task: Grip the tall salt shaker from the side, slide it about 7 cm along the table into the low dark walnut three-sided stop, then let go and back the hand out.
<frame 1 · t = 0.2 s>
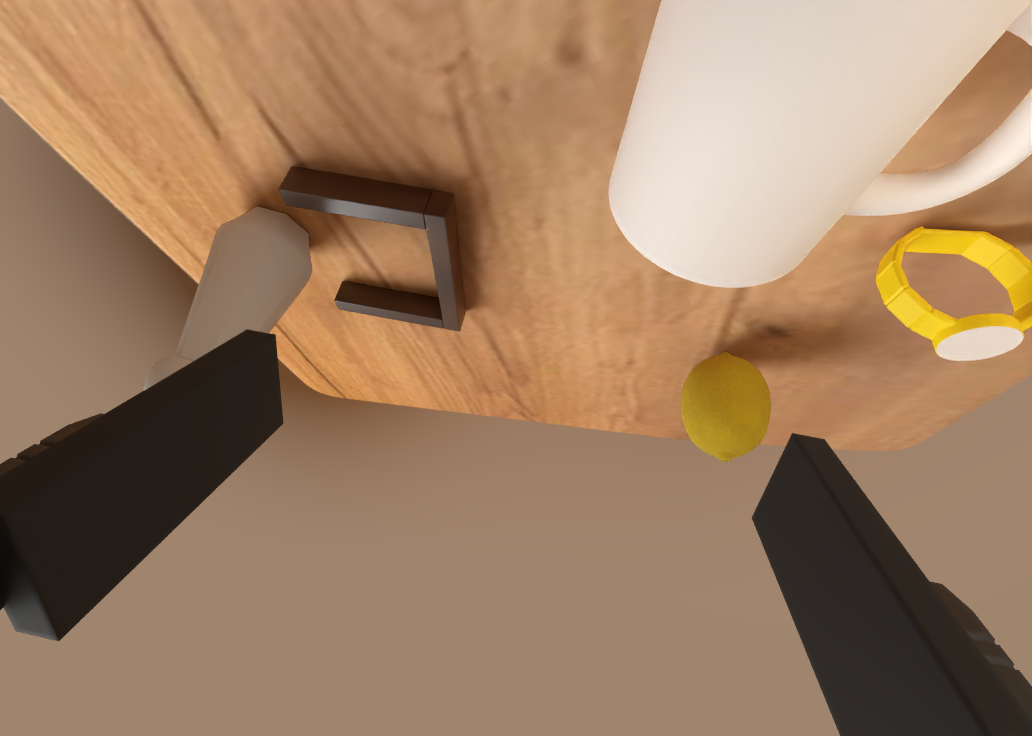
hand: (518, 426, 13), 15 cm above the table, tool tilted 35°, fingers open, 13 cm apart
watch: (943, 234, 23), on the table
salt shaker: (280, 228, 33), on the table
lemon: (724, 350, 35), on the table
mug: (827, 20, 17), on the table
walnut stop: (397, 250, 32), on the table
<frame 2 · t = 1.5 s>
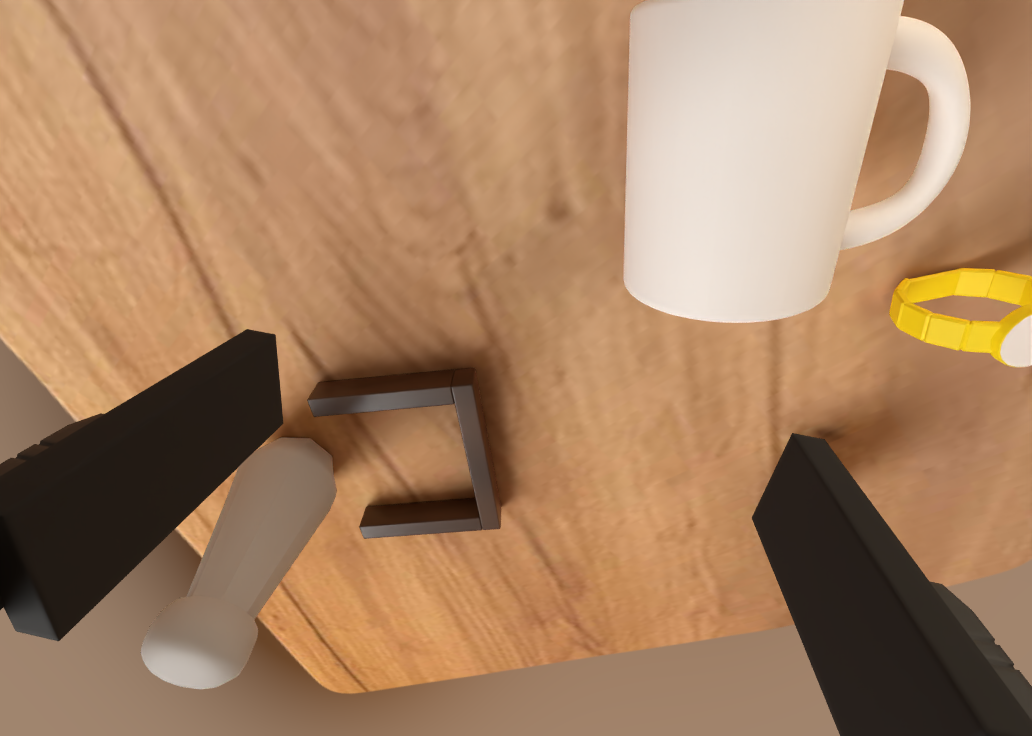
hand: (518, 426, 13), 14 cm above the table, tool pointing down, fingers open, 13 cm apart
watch: (927, 283, 25), on the table
salt shaker: (302, 458, 32), on the table
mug: (747, 137, 22), on the table
walnut stop: (423, 449, 31), on the table
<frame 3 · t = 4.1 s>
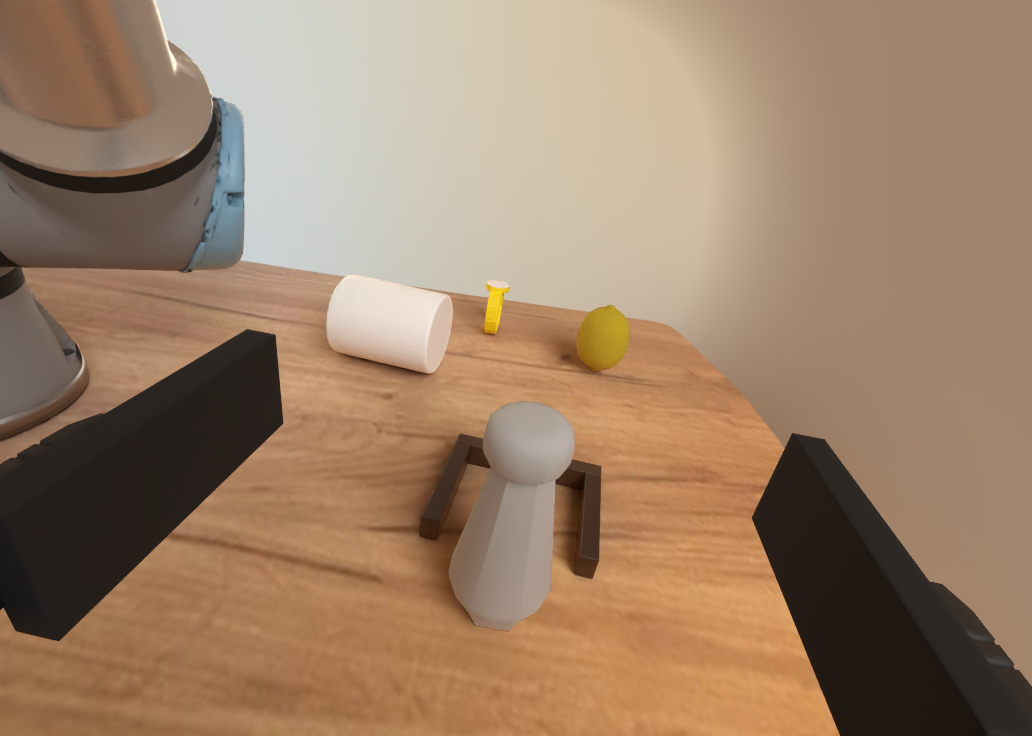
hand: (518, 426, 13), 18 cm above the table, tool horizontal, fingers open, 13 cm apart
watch: (491, 331, 61), on the table
salt shaker: (494, 600, 29), on the table
lemon: (593, 372, 56), on the table
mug: (399, 352, 53), on the table
walnut stop: (517, 503, 36), on the table
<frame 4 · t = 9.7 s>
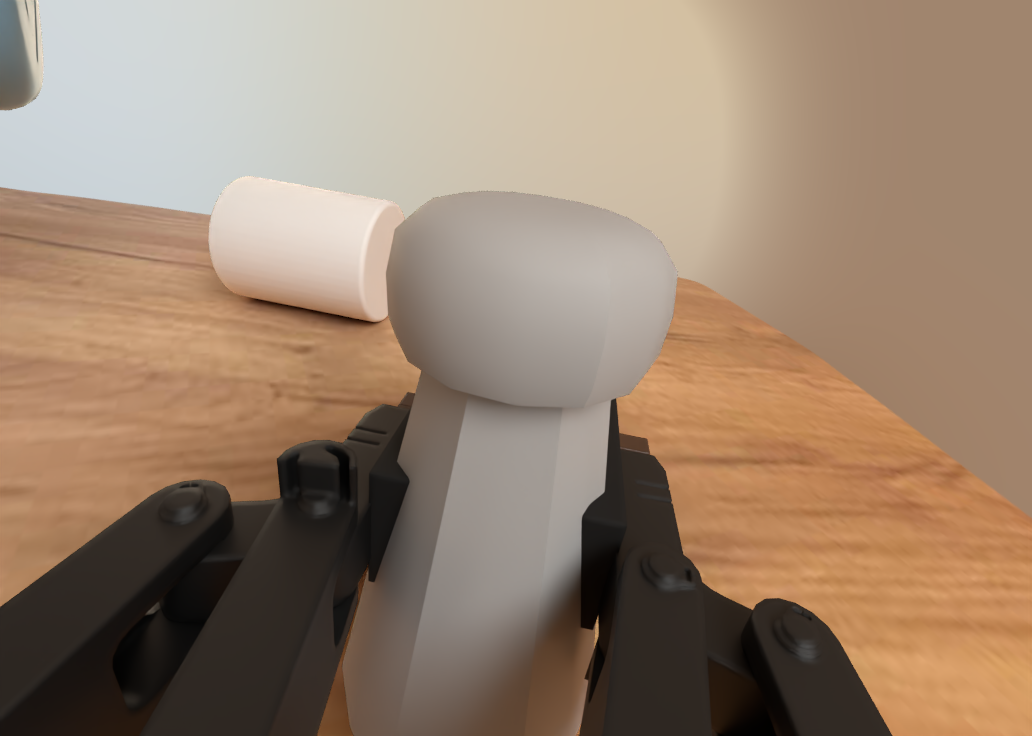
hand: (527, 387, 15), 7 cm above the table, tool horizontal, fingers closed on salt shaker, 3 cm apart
salt shaker: (461, 718, 13), on the table, touching gripper
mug: (333, 299, 37), on the table
walnut stop: (507, 505, 20), on the table
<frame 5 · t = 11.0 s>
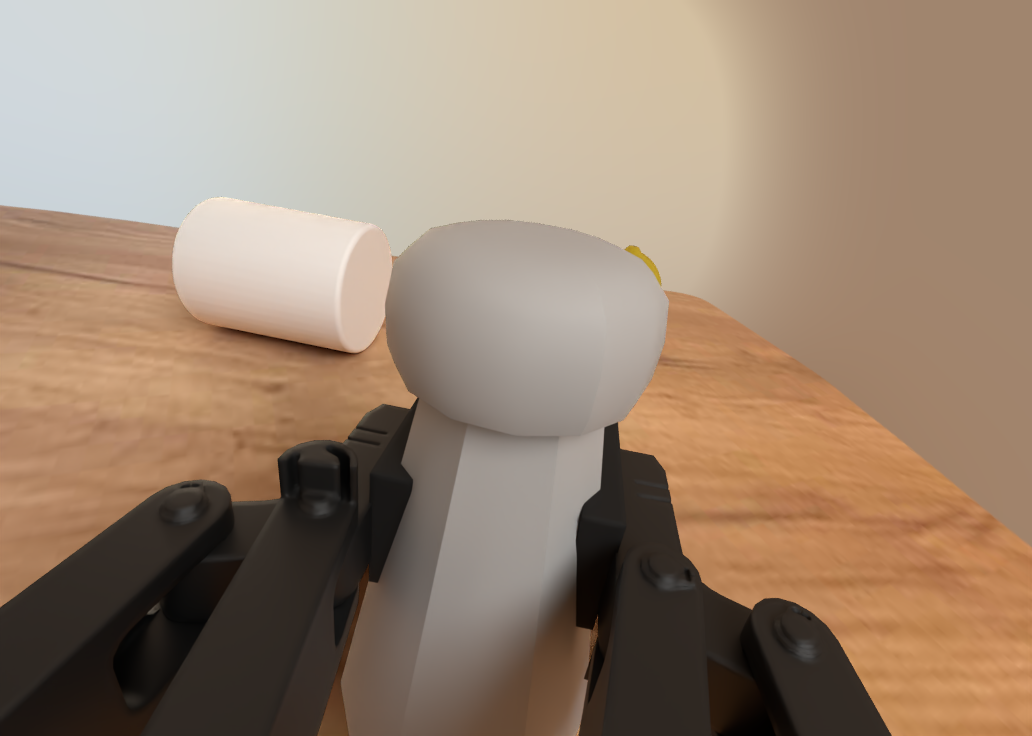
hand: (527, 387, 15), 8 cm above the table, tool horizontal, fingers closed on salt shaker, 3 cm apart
salt shaker: (458, 728, 13), on the table, touching gripper
lemon: (607, 351, 38), on the table
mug: (313, 326, 35), on the table
when the fingers open (8 cm above the table, at t = 12.3 s): salt shaker stays where it is, on the table.
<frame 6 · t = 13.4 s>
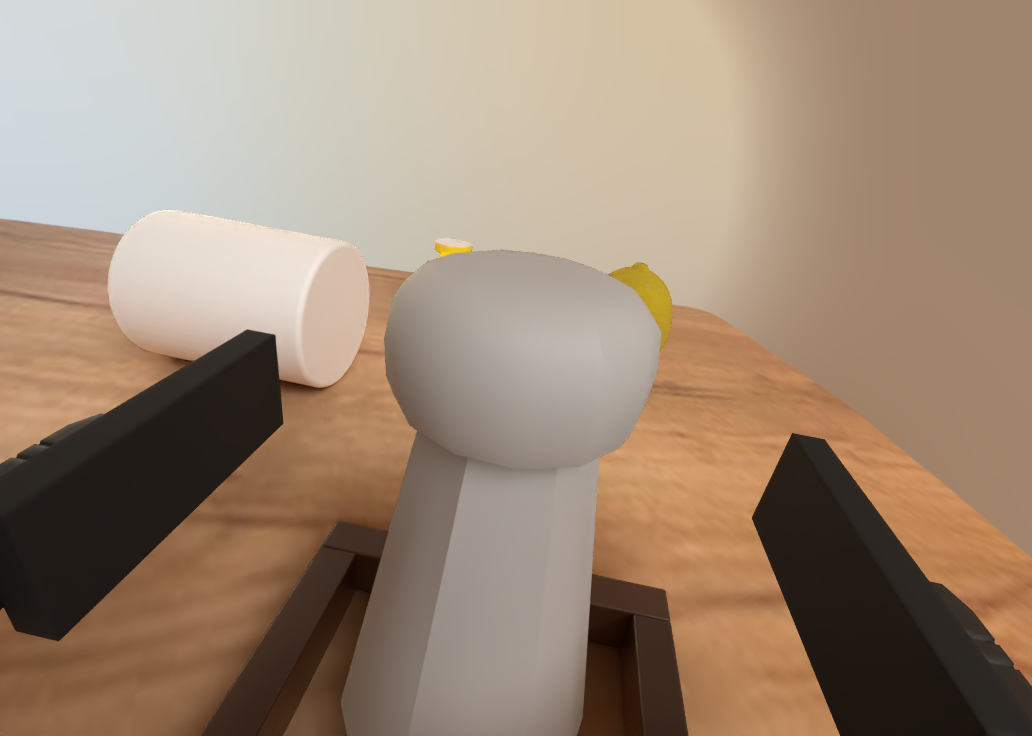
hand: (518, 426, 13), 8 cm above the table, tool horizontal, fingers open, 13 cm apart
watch: (447, 319, 39), on the table
lemon: (611, 379, 34), on the table
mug: (281, 352, 31), on the table
walnut stop: (465, 713, 14), on the table
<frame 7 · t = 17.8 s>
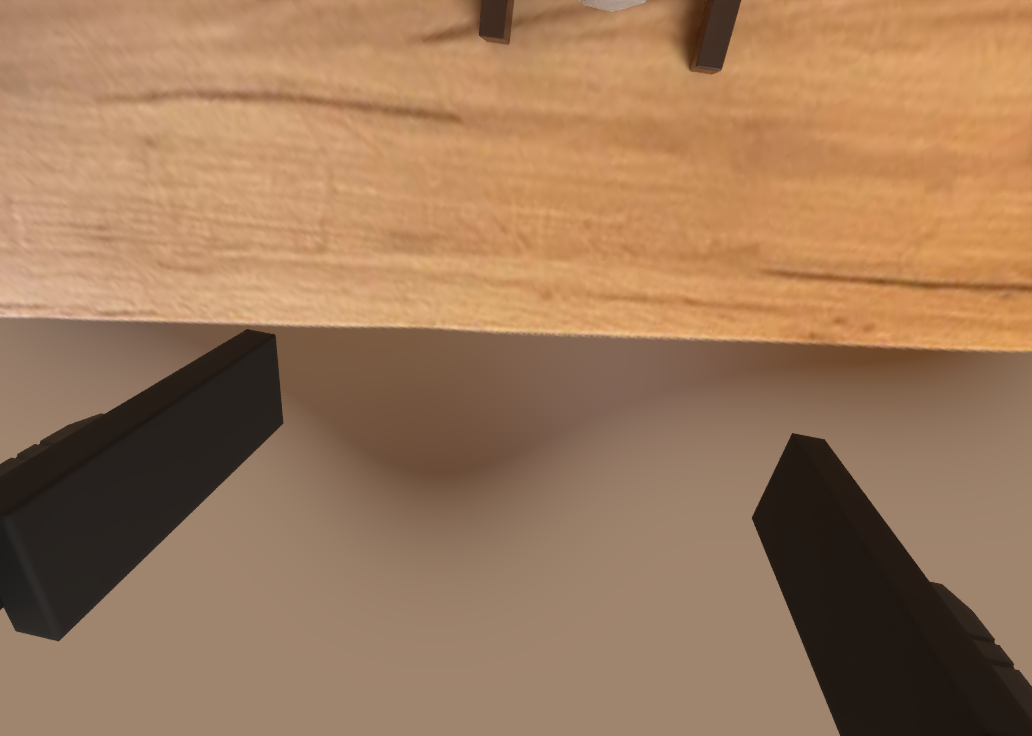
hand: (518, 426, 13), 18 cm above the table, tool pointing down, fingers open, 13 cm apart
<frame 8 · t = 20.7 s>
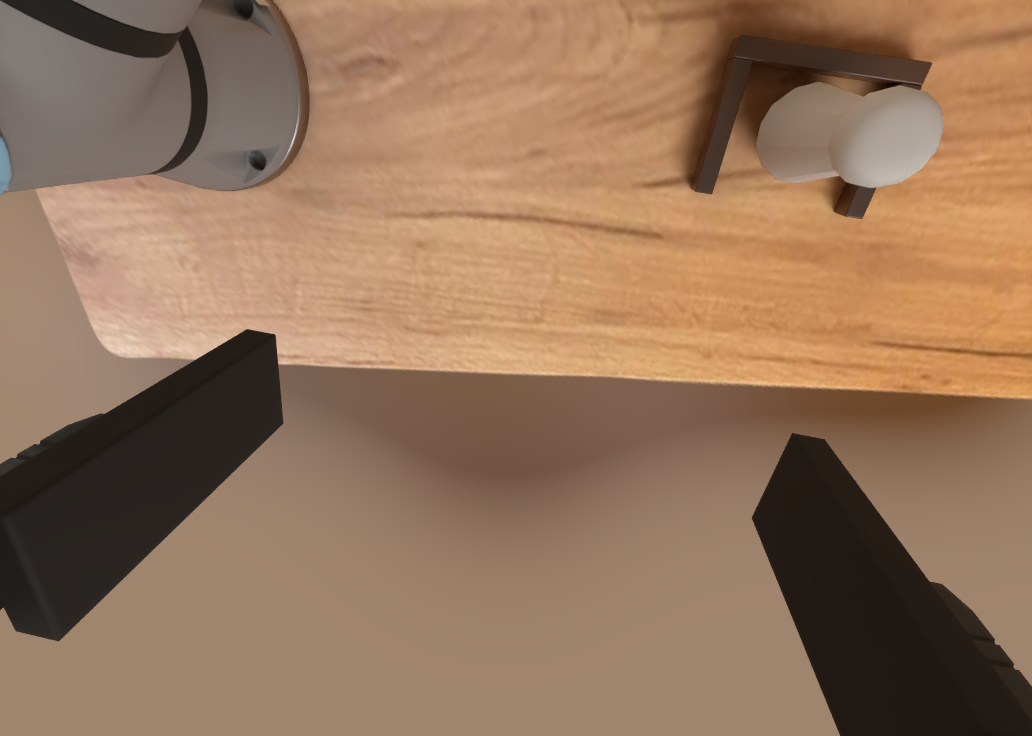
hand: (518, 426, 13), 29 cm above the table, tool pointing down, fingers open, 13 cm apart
salt shaker: (791, 134, 34), on the table
walnut stop: (797, 125, 33), on the table
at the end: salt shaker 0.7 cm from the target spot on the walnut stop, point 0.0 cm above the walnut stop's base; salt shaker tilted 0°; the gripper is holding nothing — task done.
